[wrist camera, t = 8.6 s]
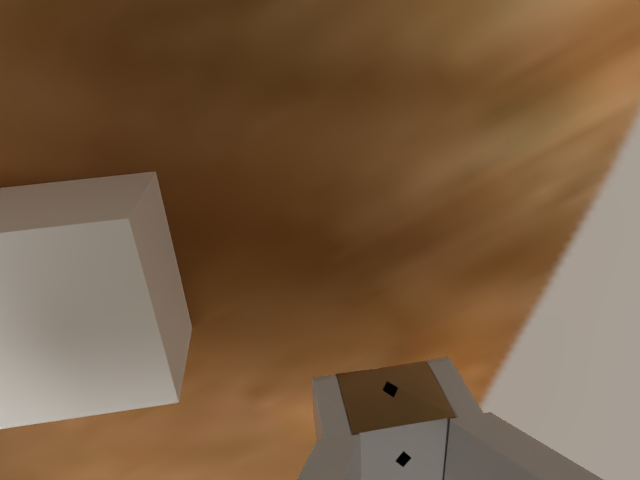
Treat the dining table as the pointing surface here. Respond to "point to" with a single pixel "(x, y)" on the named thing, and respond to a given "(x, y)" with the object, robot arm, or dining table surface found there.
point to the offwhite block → (88, 300)
